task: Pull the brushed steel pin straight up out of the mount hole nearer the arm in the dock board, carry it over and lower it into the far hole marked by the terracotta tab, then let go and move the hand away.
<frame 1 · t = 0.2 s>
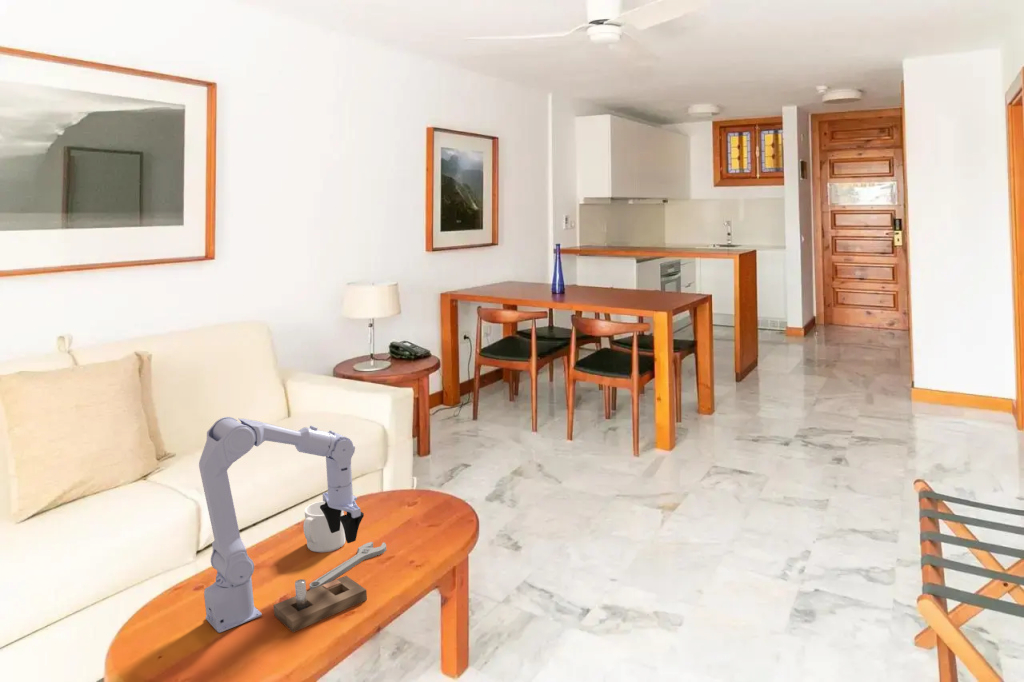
hand: (343, 536, 169), 10 cm above the table, tool pointing down, fingers open, 7 cm apart
steel pin: (302, 615, 153), resting in dock board
adjustable wrench: (347, 568, 175), on the table
mug: (323, 546, 186), on the table
dock board: (321, 607, 156), on the table
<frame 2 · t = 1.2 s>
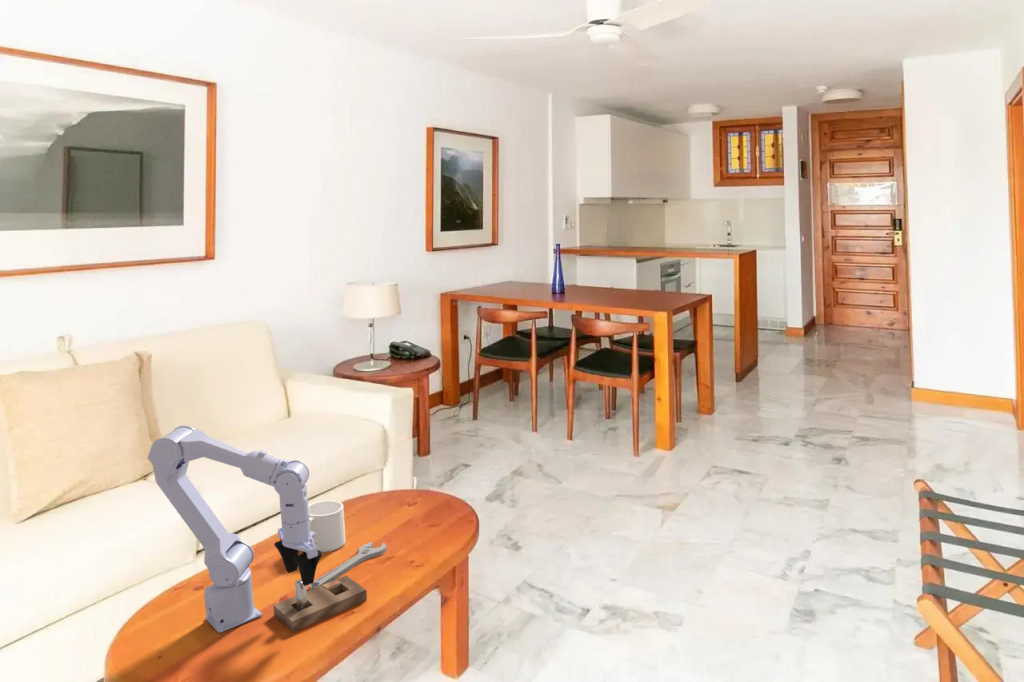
hand: (300, 577, 152), 9 cm above the table, tool pointing down, fingers open, 7 cm apart
nothing on the table moved.
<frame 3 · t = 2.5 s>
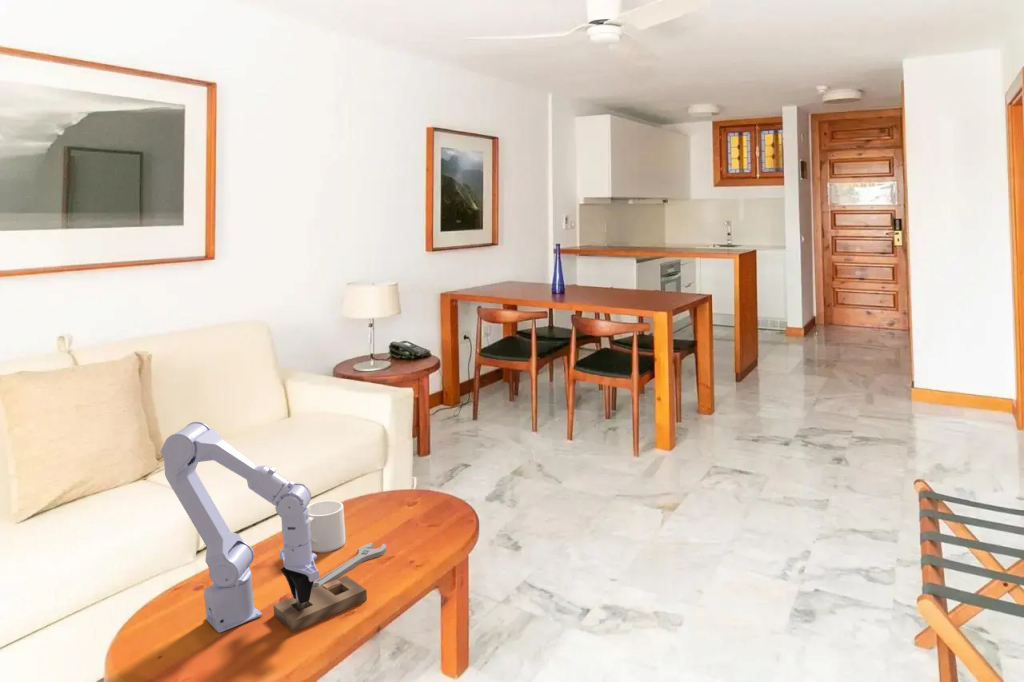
hand: (301, 599, 152), 4 cm above the table, tool pointing down, fingers closed on steel pin, 2 cm apart
steel pin: (302, 615, 153), resting in dock board, touching gripper
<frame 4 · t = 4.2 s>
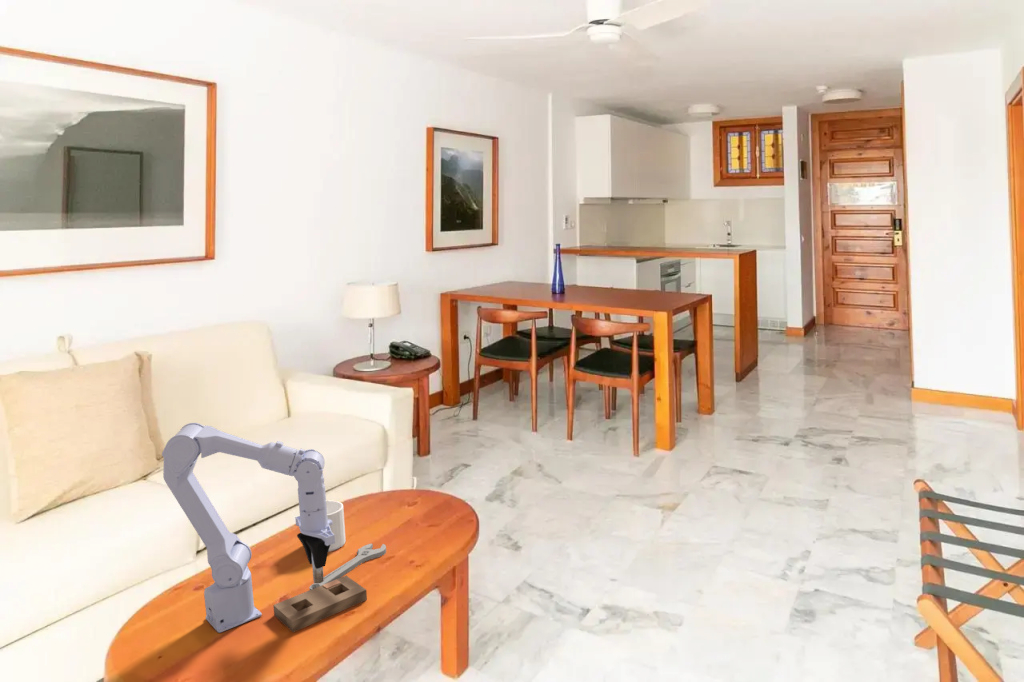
hand: (317, 564, 154), 10 cm above the table, tool pointing down, fingers closed on steel pin, 2 cm apart
steel pin: (318, 580, 155), point 7 cm above the table, touching gripper
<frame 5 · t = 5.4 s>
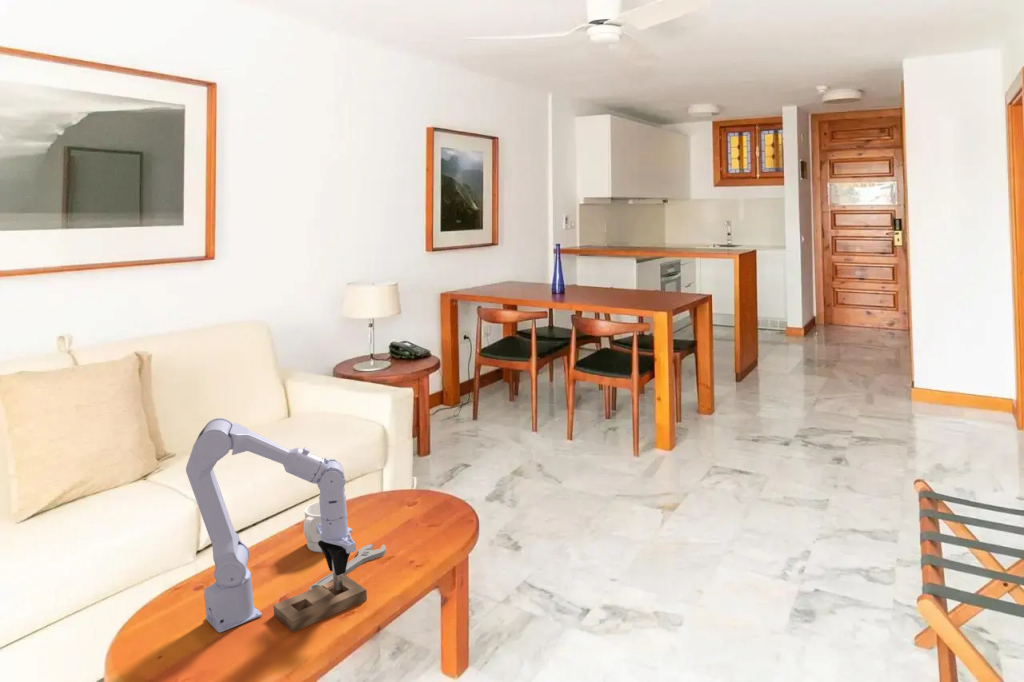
hand: (337, 571, 158), 7 cm above the table, tool pointing down, fingers closed on steel pin, 2 cm apart
steel pin: (338, 587, 159), point 3 cm above the table, touching gripper
when the fingers open (5 cm above the table, at t = 6.1 s): steel pin drops 1 cm, resting in dock board.
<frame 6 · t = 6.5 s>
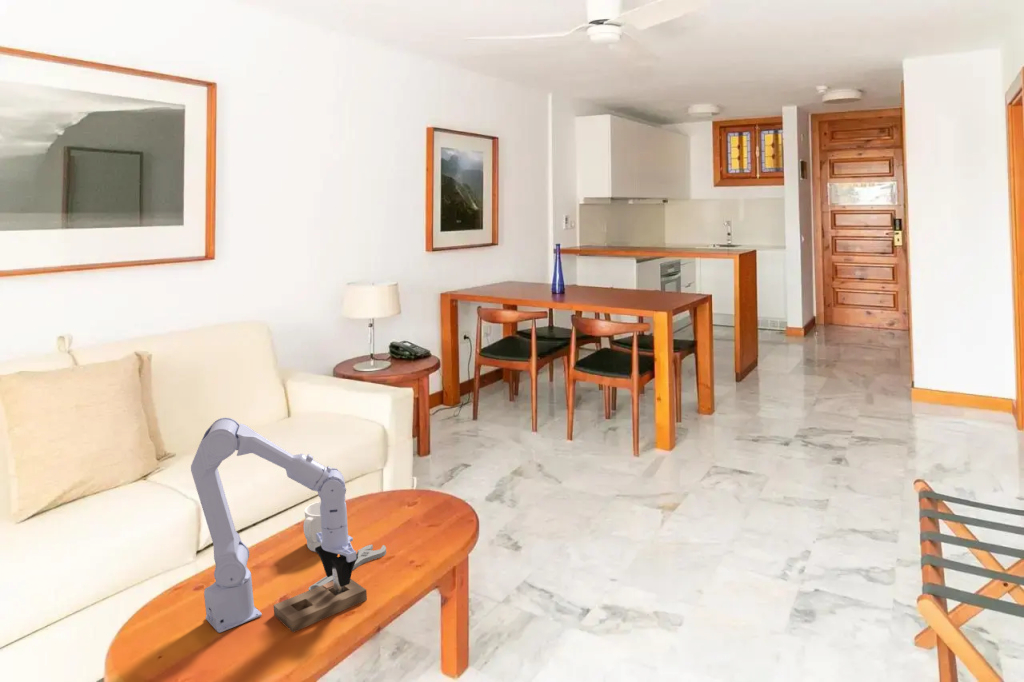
hand: (338, 579, 158), 5 cm above the table, tool pointing down, fingers open, 5 cm apart
steel pin: (339, 599, 159), resting in dock board
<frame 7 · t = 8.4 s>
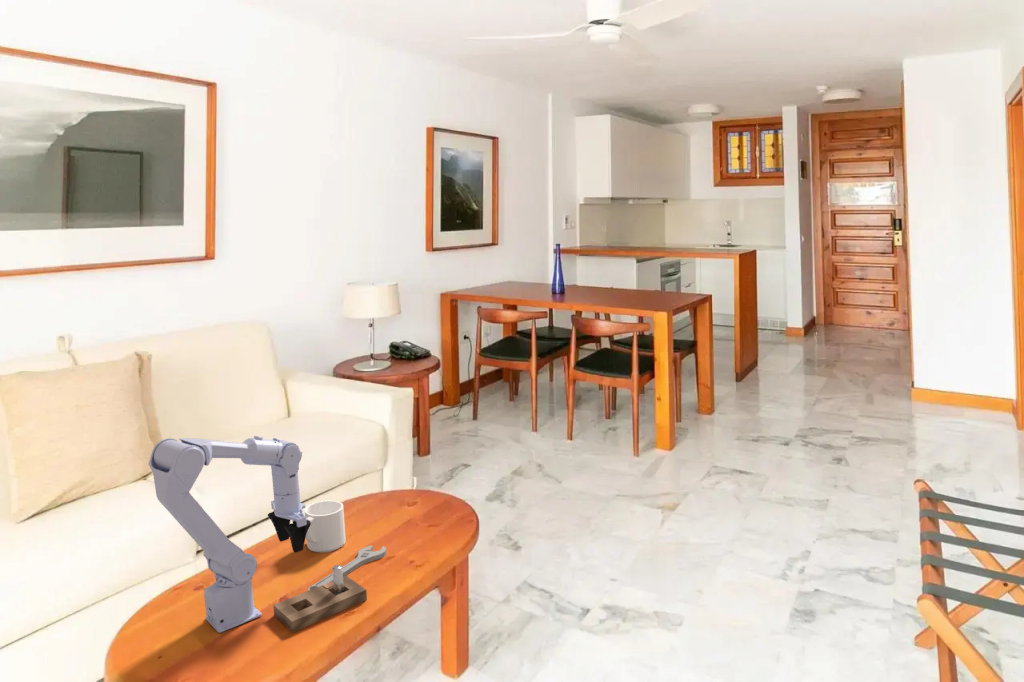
hand: (291, 545, 164), 10 cm above the table, tool pointing down, fingers open, 7 cm apart
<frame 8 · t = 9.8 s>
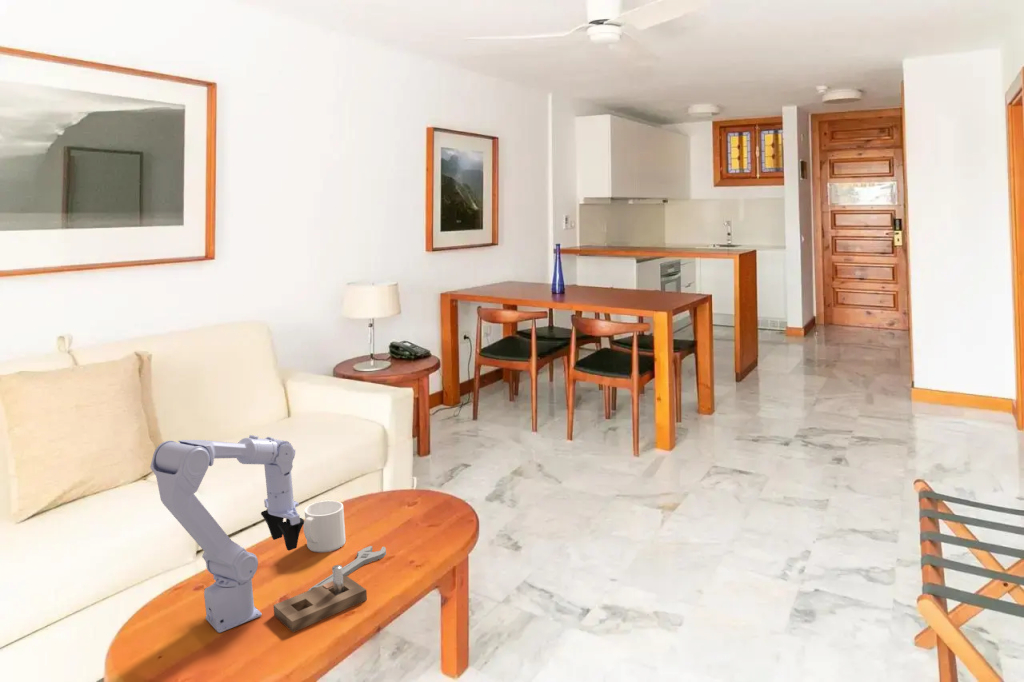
hand: (284, 543, 165), 10 cm above the table, tool pointing down, fingers open, 7 cm apart
at the end: steel pin 0.0 cm from the target spot on the dock board, point 0.0 cm above the dock board's base; steel pin tilted 0°; the gripper is holding nothing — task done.
